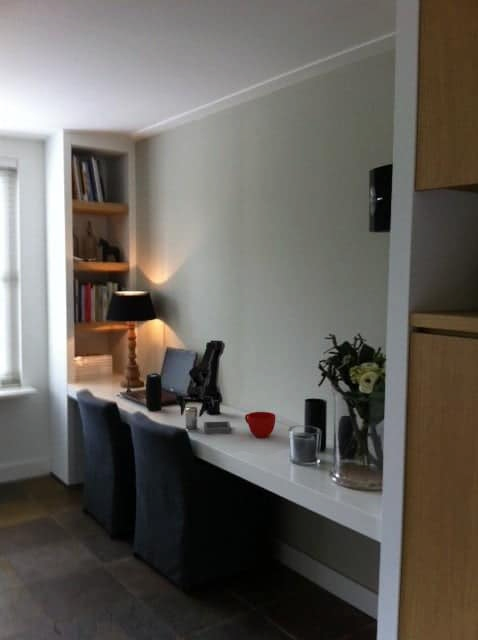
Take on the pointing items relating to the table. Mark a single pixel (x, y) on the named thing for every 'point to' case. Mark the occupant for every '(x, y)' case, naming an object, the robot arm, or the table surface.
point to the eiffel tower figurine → (127, 389)
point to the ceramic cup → (261, 423)
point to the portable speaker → (153, 392)
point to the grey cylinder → (191, 419)
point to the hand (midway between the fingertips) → (190, 415)
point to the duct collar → (217, 424)
